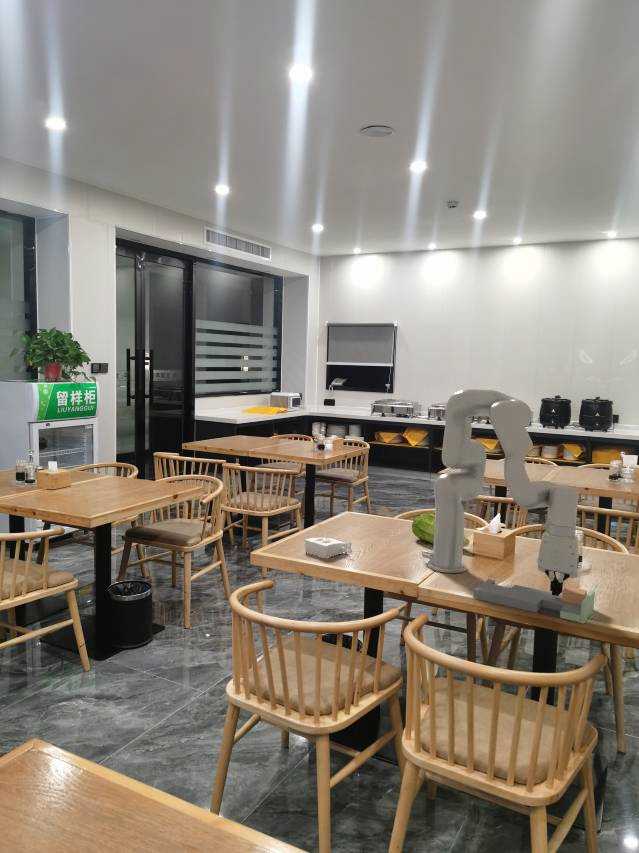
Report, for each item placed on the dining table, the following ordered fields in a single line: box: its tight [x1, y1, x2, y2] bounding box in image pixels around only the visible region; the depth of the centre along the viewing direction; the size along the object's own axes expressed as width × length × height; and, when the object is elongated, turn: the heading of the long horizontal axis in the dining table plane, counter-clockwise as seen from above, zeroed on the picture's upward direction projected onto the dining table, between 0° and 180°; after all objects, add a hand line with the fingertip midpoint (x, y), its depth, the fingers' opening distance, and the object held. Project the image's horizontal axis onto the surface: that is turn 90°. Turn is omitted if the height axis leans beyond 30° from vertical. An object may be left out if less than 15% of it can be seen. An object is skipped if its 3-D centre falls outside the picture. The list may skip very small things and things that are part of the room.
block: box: [561, 585, 588, 605], centre depth 177 cm, size 6×6×3 cm
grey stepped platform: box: [472, 578, 596, 624], centre depth 180 cm, size 30×13×6 cm, turn 56°
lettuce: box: [411, 512, 470, 548], centre depth 239 cm, size 12×24×13 cm
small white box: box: [304, 532, 353, 559], centre depth 224 cm, size 8×20×16 cm
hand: (555, 594), depth 179 cm, fingers closed
